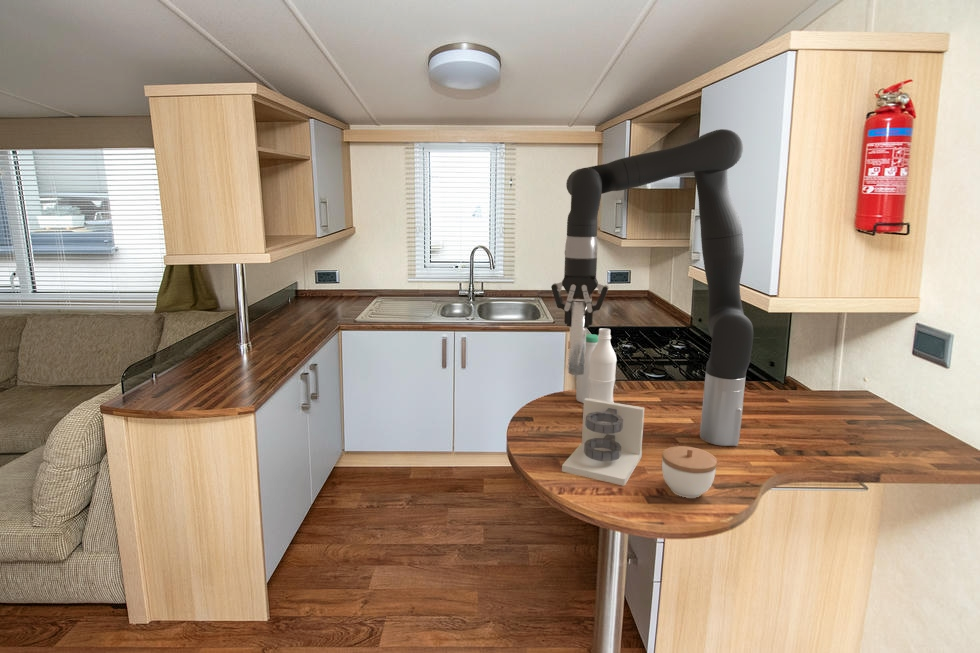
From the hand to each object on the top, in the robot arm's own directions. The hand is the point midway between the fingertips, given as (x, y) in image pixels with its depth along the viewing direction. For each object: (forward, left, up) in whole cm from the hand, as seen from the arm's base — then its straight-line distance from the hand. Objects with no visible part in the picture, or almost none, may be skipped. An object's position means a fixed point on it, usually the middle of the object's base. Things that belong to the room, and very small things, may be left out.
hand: (578, 326), depth 142 cm
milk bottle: (+5, -29, -29) cm, 42 cm away
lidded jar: (-30, +15, -29) cm, 44 cm away
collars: (-11, +10, -26) cm, 30 cm away
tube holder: (-11, +12, -29) cm, 33 cm away
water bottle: (-2, -17, -29) cm, 34 cm away
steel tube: (0, 0, -12) cm, 12 cm away
